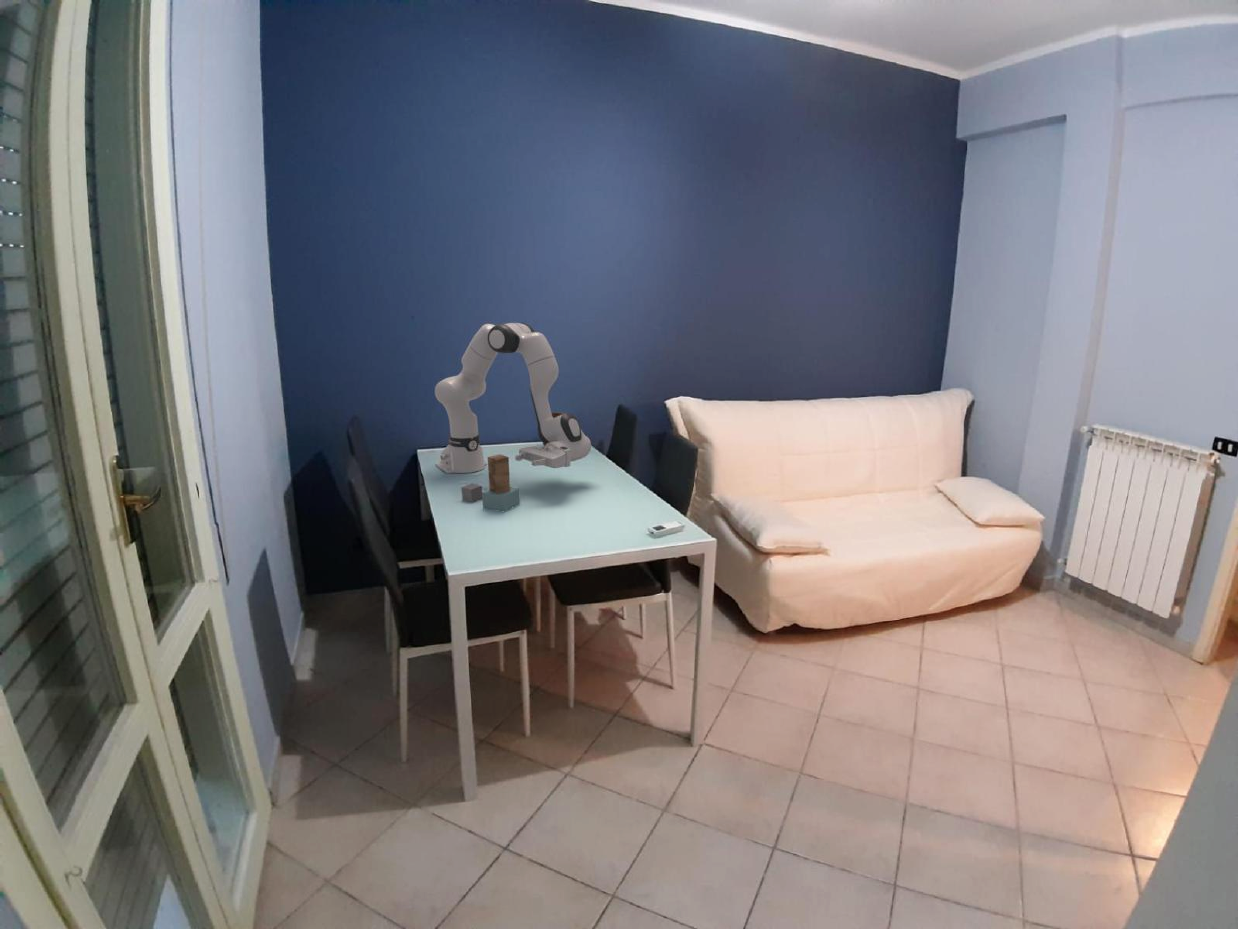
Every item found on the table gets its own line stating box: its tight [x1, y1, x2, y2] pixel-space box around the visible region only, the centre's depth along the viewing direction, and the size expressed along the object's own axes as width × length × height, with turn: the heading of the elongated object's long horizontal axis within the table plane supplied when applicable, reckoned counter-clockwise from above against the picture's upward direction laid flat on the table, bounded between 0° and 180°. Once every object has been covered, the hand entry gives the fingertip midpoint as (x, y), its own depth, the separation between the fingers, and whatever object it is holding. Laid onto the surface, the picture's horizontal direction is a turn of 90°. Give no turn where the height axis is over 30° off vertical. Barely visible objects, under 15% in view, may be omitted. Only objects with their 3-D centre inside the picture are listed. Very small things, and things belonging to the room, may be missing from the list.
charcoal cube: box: [461, 483, 483, 504], centre depth 218 cm, size 5×5×5 cm
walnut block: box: [487, 453, 511, 494], centre depth 208 cm, size 5×5×12 cm
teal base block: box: [482, 486, 521, 513], centre depth 211 cm, size 9×9×6 cm
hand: (524, 461), depth 215 cm, fingers open, 8 cm apart
